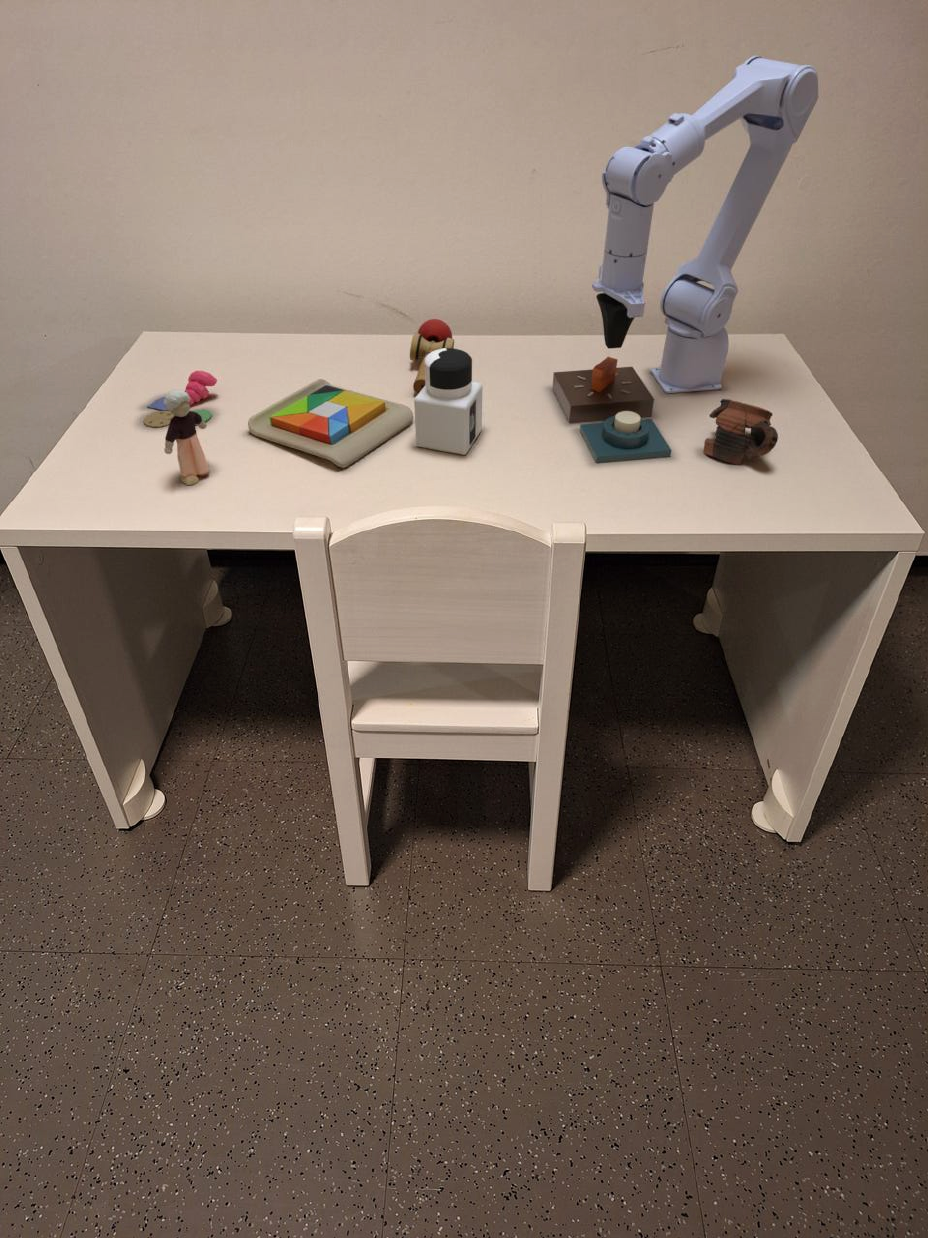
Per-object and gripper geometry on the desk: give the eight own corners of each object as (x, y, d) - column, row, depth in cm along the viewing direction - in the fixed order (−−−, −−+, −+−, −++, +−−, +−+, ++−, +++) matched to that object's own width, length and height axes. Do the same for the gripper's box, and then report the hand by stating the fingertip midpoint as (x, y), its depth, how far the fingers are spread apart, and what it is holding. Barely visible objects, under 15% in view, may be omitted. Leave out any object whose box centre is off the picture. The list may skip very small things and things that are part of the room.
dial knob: (605, 377, 127) (608, 354, 125) (614, 380, 127) (617, 357, 124) (590, 389, 125) (593, 366, 122) (599, 392, 124) (602, 369, 121)
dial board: (629, 383, 132) (632, 365, 130) (651, 416, 125) (654, 398, 122) (552, 389, 131) (553, 370, 129) (568, 423, 123) (570, 404, 121)
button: (634, 420, 118) (636, 409, 117) (642, 433, 116) (644, 422, 115) (610, 422, 118) (612, 411, 117) (617, 435, 115) (619, 424, 114)
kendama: (452, 403, 130) (462, 340, 141) (443, 369, 125) (455, 307, 137) (405, 408, 132) (419, 345, 143) (395, 375, 127) (411, 313, 138)
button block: (650, 425, 123) (653, 407, 121) (670, 457, 116) (674, 438, 114) (579, 431, 121) (581, 413, 119) (595, 463, 115) (598, 445, 113)
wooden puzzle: (325, 387, 132) (322, 366, 129) (417, 421, 124) (416, 400, 121) (245, 432, 121) (241, 411, 119) (340, 473, 113) (337, 451, 111)
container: (482, 430, 122) (483, 346, 113) (465, 456, 116) (465, 371, 108) (434, 421, 124) (431, 339, 115) (415, 446, 118) (411, 362, 109)
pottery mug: (683, 448, 119) (703, 392, 116) (725, 460, 124) (745, 407, 122) (746, 467, 109) (769, 407, 107) (788, 480, 115) (811, 422, 112)
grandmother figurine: (196, 491, 110) (172, 406, 101) (170, 486, 111) (145, 401, 102) (223, 461, 115) (203, 378, 107) (199, 457, 116) (177, 374, 108)
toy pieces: (166, 388, 131) (159, 362, 128) (230, 394, 130) (225, 368, 127) (129, 424, 123) (121, 398, 120) (198, 432, 121) (191, 405, 118)
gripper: (582, 233, 114) (574, 327, 124) (612, 271, 104) (601, 370, 113) (630, 230, 115) (618, 324, 125) (665, 267, 105) (649, 366, 114)
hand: (613, 346), depth 119 cm, fingers closed
